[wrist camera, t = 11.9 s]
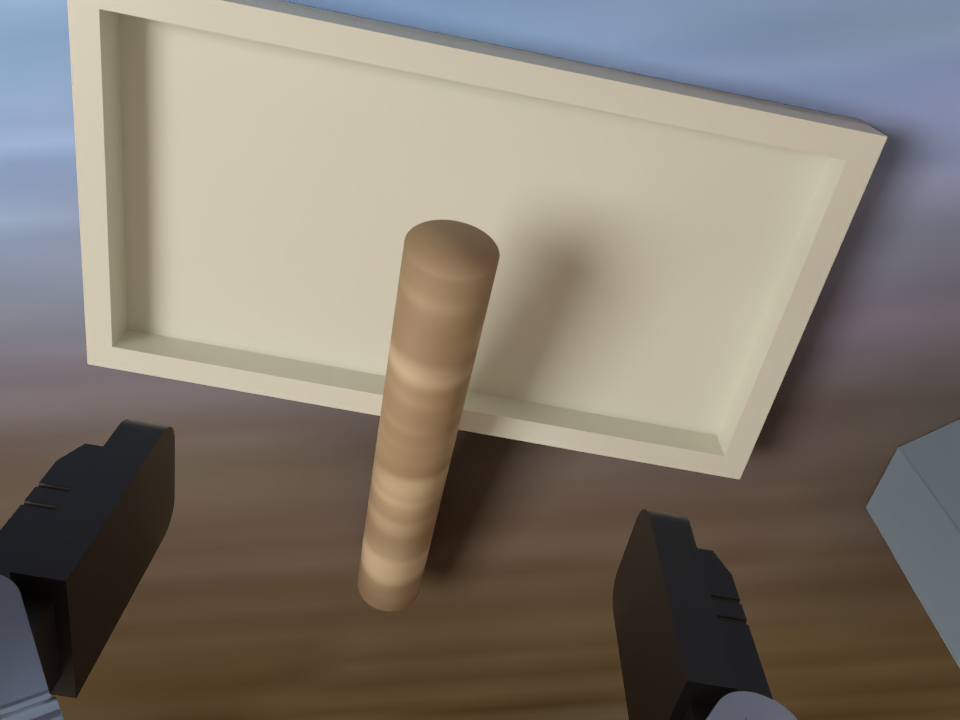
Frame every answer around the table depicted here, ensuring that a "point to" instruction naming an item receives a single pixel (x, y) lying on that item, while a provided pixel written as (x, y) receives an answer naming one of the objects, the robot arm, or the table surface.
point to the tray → (449, 196)
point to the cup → (926, 524)
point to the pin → (423, 401)
